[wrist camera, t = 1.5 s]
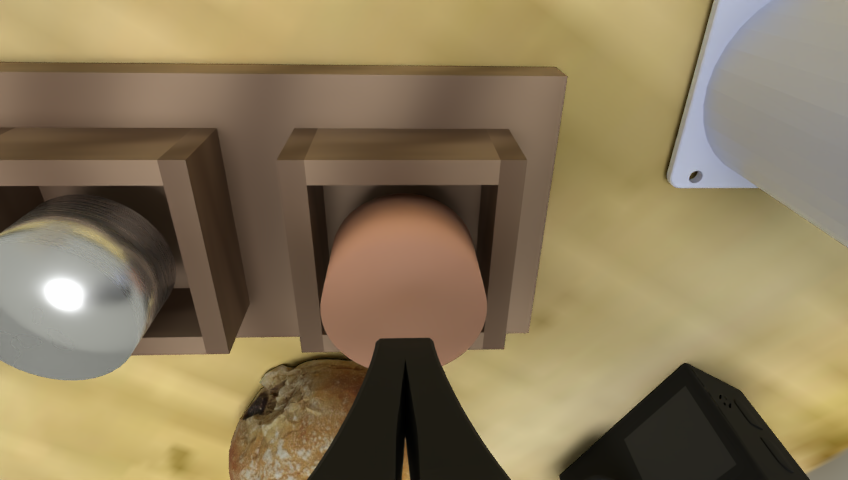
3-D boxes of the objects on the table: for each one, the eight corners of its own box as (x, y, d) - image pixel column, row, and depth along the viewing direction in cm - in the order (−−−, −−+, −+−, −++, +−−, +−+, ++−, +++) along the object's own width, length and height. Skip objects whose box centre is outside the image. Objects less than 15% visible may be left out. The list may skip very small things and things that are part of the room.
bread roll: (347, 290, 27) (254, 358, 20) (494, 421, 27) (454, 542, 19) (262, 401, 31) (158, 493, 24) (388, 518, 30) (321, 651, 23)
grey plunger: (157, 194, 16) (109, 242, 13) (189, 316, 18) (155, 378, 16) (-5, 194, 16) (-84, 244, 13) (50, 318, 18) (-9, 381, 15)
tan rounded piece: (478, 193, 16) (493, 240, 14) (469, 313, 19) (481, 372, 16) (326, 193, 16) (313, 241, 14) (336, 314, 19) (327, 375, 16)
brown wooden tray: (555, 66, 18) (598, 100, 15) (521, 311, 24) (545, 383, 20) (-56, 61, 17) (-187, 95, 14) (55, 318, 23) (-15, 394, 19)
